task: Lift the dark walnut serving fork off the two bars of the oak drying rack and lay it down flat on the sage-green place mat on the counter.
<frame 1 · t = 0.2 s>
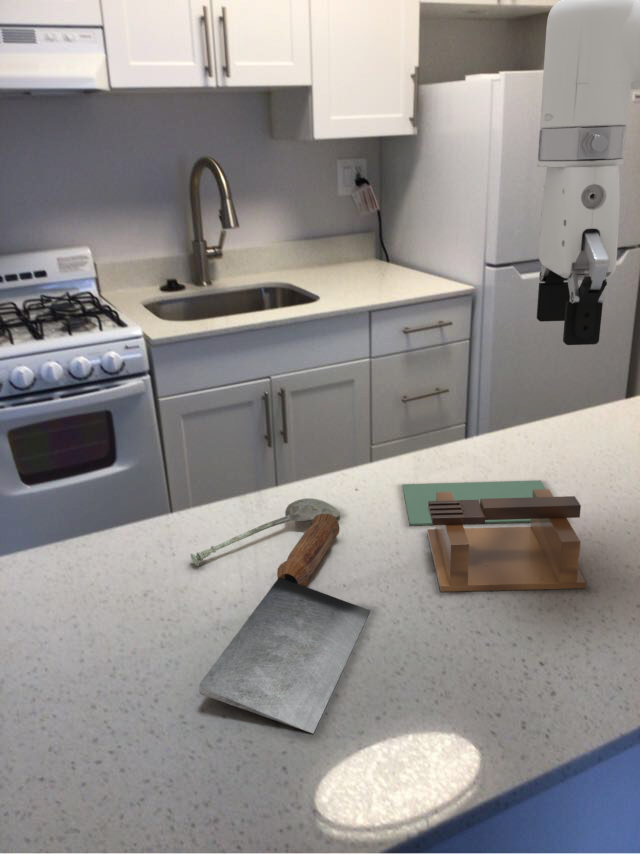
hand: (565, 331, 75), 29 cm above the worktop, tool pointing down, fingers open, 9 cm apart
fork: (503, 514, 88), point 6 cm above the worktop, touching rack
mat: (478, 502, 104), on the worktop
rack: (500, 559, 90), on the worktop
meat cleaver: (314, 614, 82), on the worktop
soupspoon: (268, 537, 98), on the worktop
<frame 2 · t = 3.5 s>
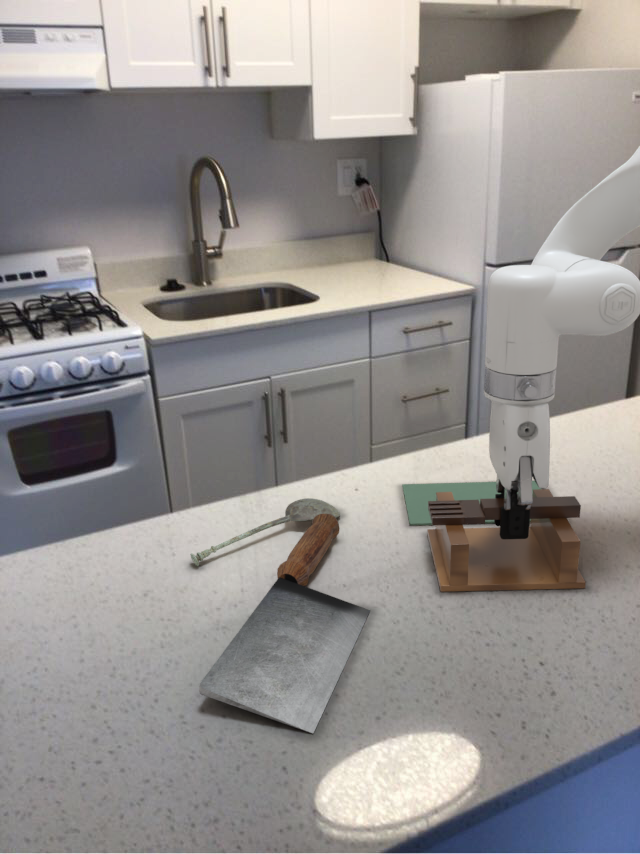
hand: (510, 530, 89), 4 cm above the worktop, tool pointing down, fingers closed on fork, 2 cm apart
fork: (503, 514, 88), point 6 cm above the worktop, touching gripper, rack
everything else where it was.
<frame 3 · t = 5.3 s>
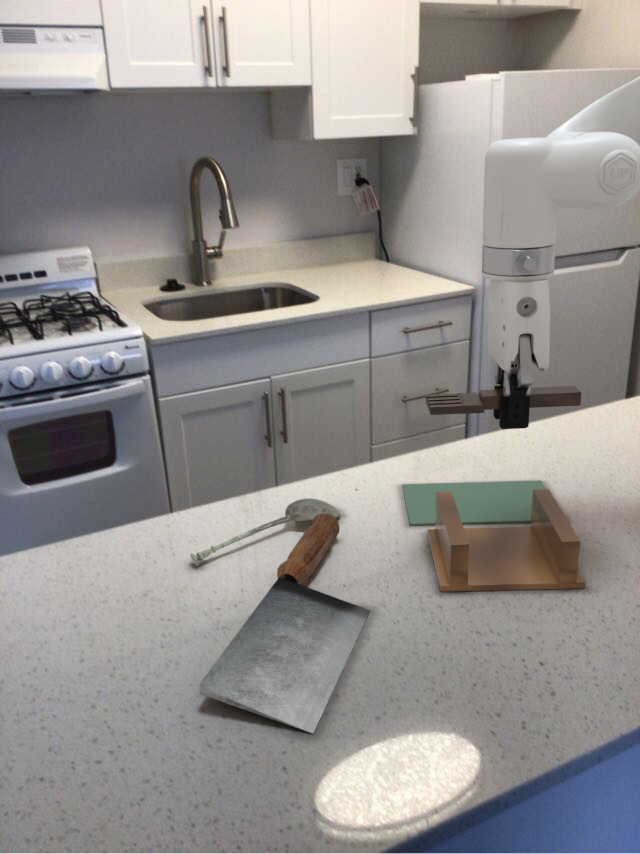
hand: (510, 421, 87), 16 cm above the worktop, tool pointing down, fingers closed on fork, 2 cm apart
fork: (502, 405, 86), point 18 cm above the worktop, touching gripper
everything else where it was.
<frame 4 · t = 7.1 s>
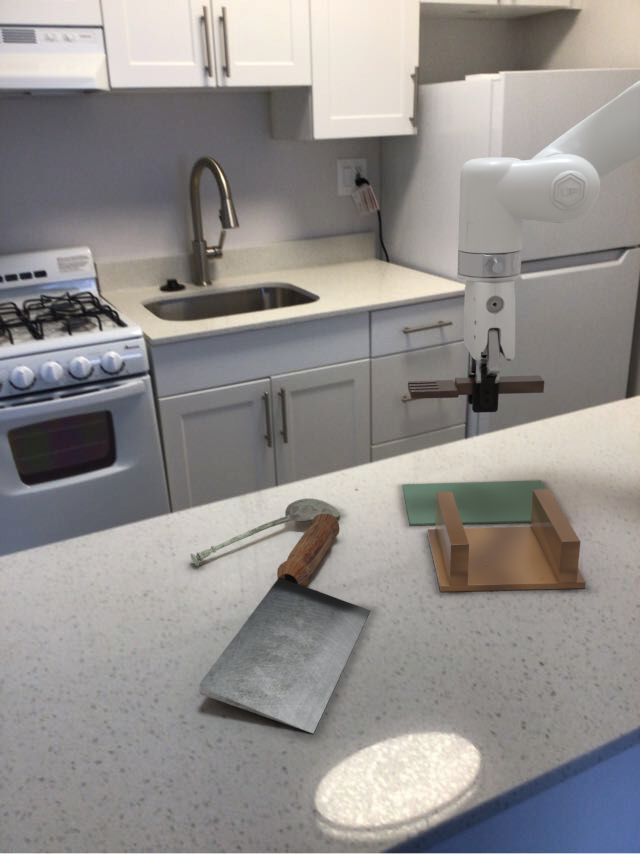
hand: (482, 406, 99), 14 cm above the worktop, tool pointing down, fingers closed on fork, 2 cm apart
fork: (475, 391, 98), point 16 cm above the worktop, touching gripper
everything else where it was.
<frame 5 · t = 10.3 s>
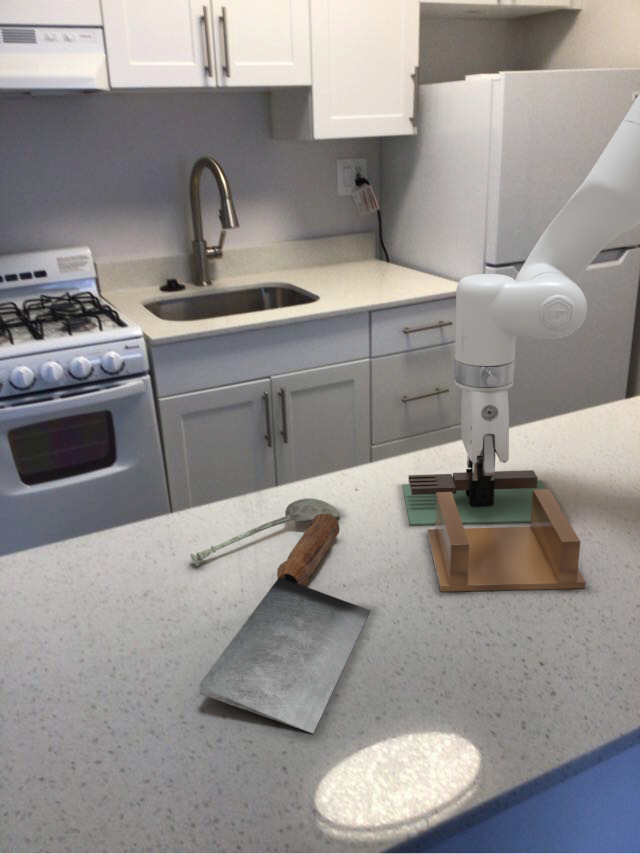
hand: (479, 499, 104), 1 cm above the worktop, tool pointing down, fingers closed on fork, 2 cm apart
fork: (472, 486, 103), point 3 cm above the worktop, touching gripper
everything else where it was.
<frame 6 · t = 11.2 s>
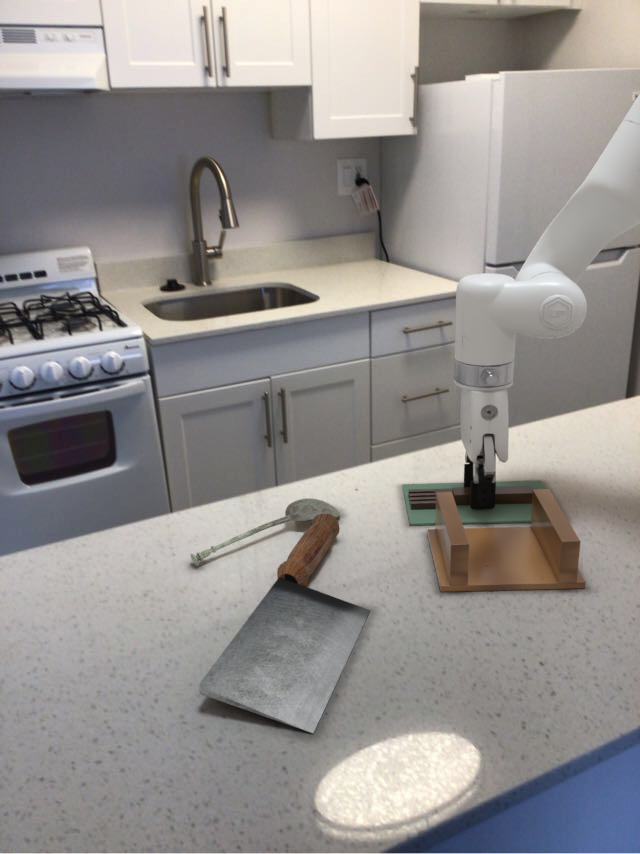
hand: (478, 497, 104), 1 cm above the worktop, tool pointing down, fingers open, 4 cm apart
fork: (471, 501, 104), resting on mat
everything else where it was.
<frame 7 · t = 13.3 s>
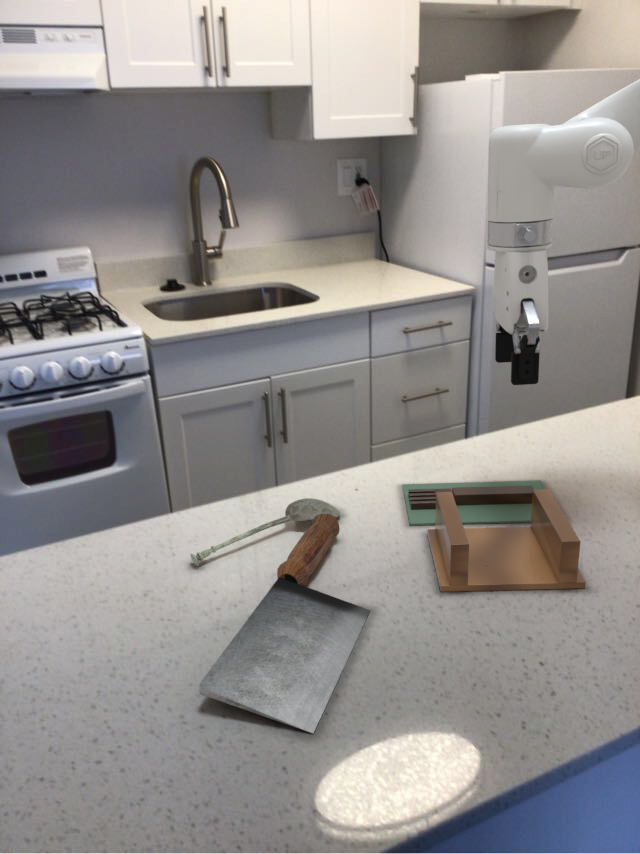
hand: (515, 372, 97), 19 cm above the worktop, tool pointing down, fingers open, 9 cm apart
nothing on the worktop moved.
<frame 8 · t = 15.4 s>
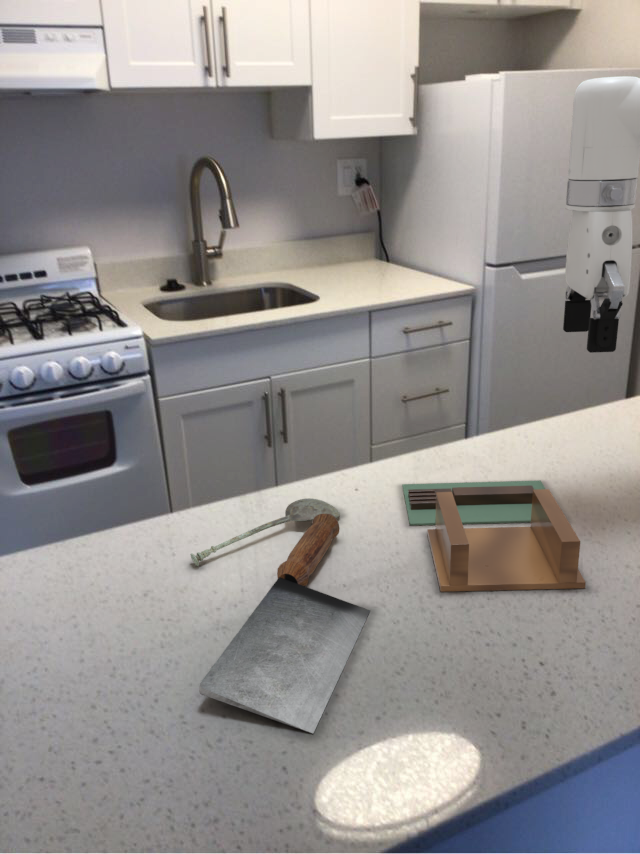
hand: (587, 340, 93), 23 cm above the worktop, tool pointing down, fingers open, 9 cm apart
nothing on the worktop moved.
at the end: fork inside the target area (1.0 cm from its centre), resting on mat; fork touching mat; the gripper is holding nothing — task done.
